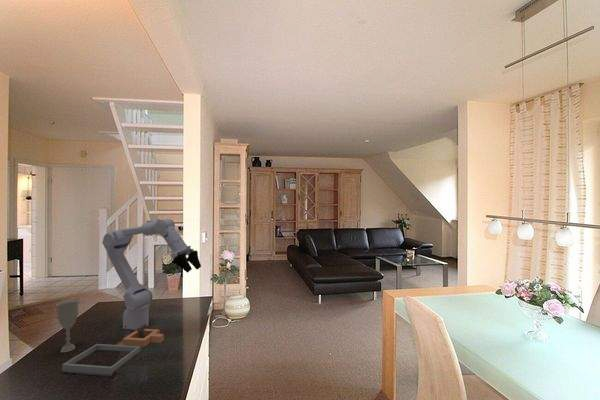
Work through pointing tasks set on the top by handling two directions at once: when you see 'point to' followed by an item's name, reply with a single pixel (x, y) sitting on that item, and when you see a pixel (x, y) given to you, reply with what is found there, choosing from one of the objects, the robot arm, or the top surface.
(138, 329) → the tan wooden piece
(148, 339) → the tan flat frame
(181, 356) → the top surface
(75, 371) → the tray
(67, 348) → the chalice
